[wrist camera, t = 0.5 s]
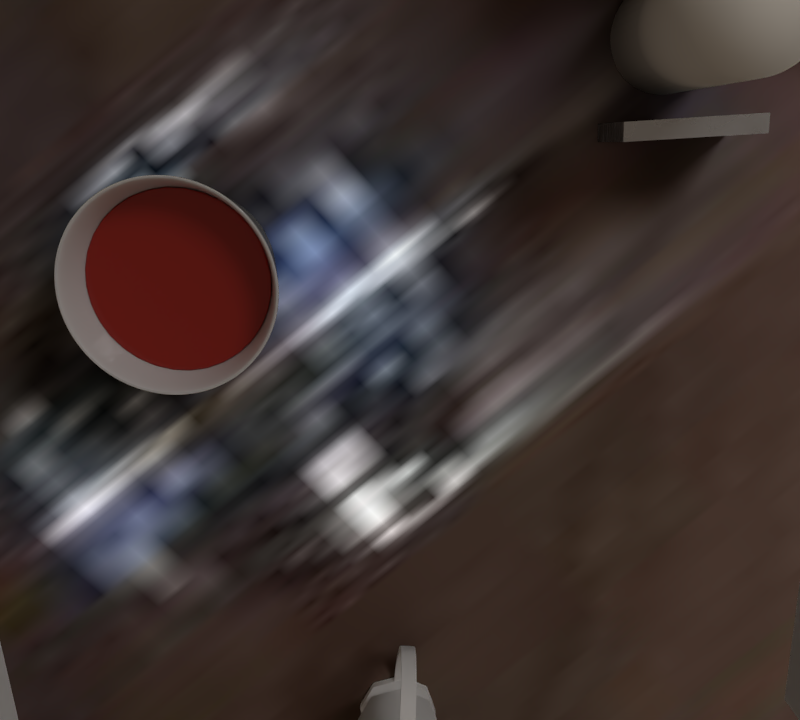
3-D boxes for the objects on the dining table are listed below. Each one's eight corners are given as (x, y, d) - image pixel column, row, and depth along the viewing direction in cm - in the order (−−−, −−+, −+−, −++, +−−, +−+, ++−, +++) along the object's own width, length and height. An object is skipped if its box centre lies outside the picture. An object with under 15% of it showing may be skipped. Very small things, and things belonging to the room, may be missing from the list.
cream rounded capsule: (611, -22, 33) (689, -81, 24) (725, -30, 33) (844, -91, 24) (609, 98, 34) (682, 83, 26) (718, 91, 34) (828, 74, 26)
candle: (72, 245, 36) (7, 267, 30) (214, 129, 34) (176, 126, 28) (195, 387, 38) (158, 435, 32) (335, 283, 37) (323, 311, 30)
